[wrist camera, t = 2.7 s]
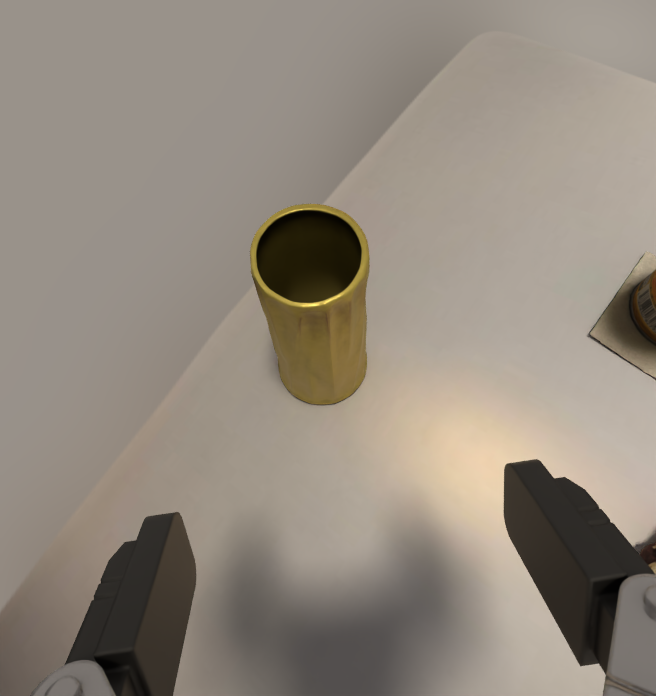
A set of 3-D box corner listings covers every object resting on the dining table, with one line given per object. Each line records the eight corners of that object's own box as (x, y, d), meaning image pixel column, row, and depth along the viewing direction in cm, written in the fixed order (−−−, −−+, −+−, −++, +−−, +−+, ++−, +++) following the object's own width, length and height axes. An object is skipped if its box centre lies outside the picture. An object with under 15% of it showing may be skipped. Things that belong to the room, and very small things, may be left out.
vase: (299, 420, 34) (270, 341, 20) (264, 343, 36) (217, 224, 22) (381, 382, 34) (405, 282, 21) (343, 309, 36) (342, 174, 23)
